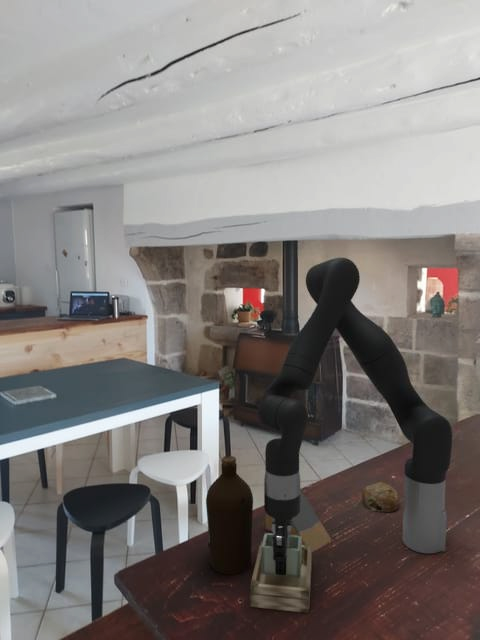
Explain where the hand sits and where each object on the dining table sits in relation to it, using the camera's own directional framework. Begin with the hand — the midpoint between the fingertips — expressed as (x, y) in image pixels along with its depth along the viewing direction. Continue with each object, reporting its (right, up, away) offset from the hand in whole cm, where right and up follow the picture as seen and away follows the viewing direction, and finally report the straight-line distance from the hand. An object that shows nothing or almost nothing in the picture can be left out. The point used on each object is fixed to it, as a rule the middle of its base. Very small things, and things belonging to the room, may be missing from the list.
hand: (282, 564), depth 106 cm
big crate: (0, -4, 0) cm, 4 cm away
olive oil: (-11, -4, +8) cm, 15 cm away
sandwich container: (+6, -2, +20) cm, 21 cm away
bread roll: (+31, 0, +35) cm, 46 cm away
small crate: (0, -1, 0) cm, 1 cm away
